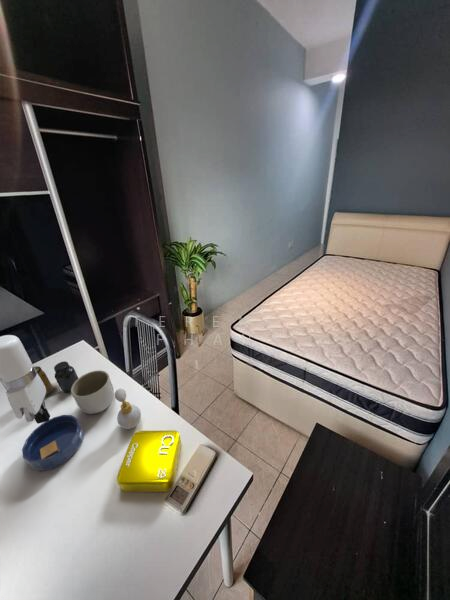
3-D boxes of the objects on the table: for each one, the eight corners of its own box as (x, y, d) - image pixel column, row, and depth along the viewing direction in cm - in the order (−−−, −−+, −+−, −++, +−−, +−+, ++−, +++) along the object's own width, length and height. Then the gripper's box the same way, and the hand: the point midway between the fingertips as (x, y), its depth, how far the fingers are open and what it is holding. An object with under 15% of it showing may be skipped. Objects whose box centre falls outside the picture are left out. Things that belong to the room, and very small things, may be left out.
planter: (123, 397, 95) (116, 376, 90) (96, 423, 85) (86, 402, 80) (102, 386, 100) (94, 366, 95) (73, 410, 91) (62, 389, 86)
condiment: (34, 391, 100) (21, 369, 94) (58, 381, 104) (47, 359, 98) (35, 403, 95) (21, 380, 89) (60, 391, 99) (48, 369, 93)
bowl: (21, 479, 71) (13, 470, 68) (38, 432, 84) (32, 423, 81) (79, 460, 75) (73, 451, 72) (87, 418, 87) (82, 409, 85)
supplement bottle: (58, 391, 99) (46, 369, 93) (72, 379, 105) (62, 357, 99) (70, 395, 97) (59, 373, 91) (84, 383, 103) (74, 361, 97)
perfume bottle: (130, 437, 80) (121, 412, 75) (111, 424, 85) (101, 400, 79) (147, 418, 86) (139, 395, 80) (128, 407, 91) (119, 384, 85)
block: (47, 467, 73) (41, 459, 71) (45, 456, 76) (39, 449, 74) (62, 457, 75) (57, 449, 73) (59, 447, 78) (54, 440, 76)
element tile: (137, 438, 80) (133, 429, 78) (182, 438, 79) (180, 429, 77) (118, 492, 67) (113, 483, 64) (172, 492, 66) (169, 483, 64)
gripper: (14, 362, 74) (38, 404, 82) (-11, 401, 61) (20, 446, 70) (43, 356, 76) (63, 398, 84) (24, 393, 63) (50, 438, 72)
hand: (44, 420), depth 77 cm, fingers closed
